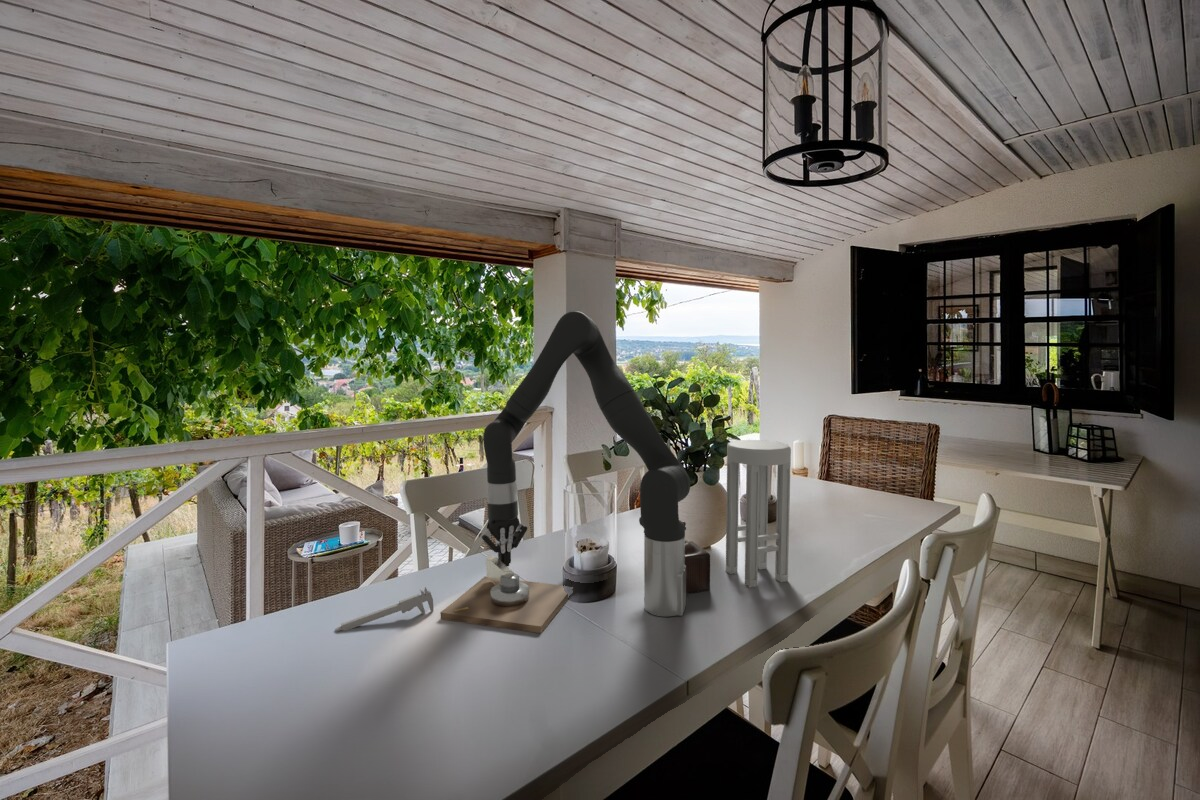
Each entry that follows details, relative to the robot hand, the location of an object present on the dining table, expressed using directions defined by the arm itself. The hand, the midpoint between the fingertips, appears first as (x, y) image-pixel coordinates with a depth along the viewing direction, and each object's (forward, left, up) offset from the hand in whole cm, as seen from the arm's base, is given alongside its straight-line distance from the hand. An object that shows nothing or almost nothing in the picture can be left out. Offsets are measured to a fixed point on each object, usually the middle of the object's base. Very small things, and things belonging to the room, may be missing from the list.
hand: (504, 565), depth 144 cm
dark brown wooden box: (-41, -11, -5) cm, 43 cm away
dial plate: (-6, +10, -5) cm, 13 cm away
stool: (-61, -23, -5) cm, 66 cm away
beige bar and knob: (-3, +7, -3) cm, 8 cm away
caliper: (+17, +24, -6) cm, 30 cm away
